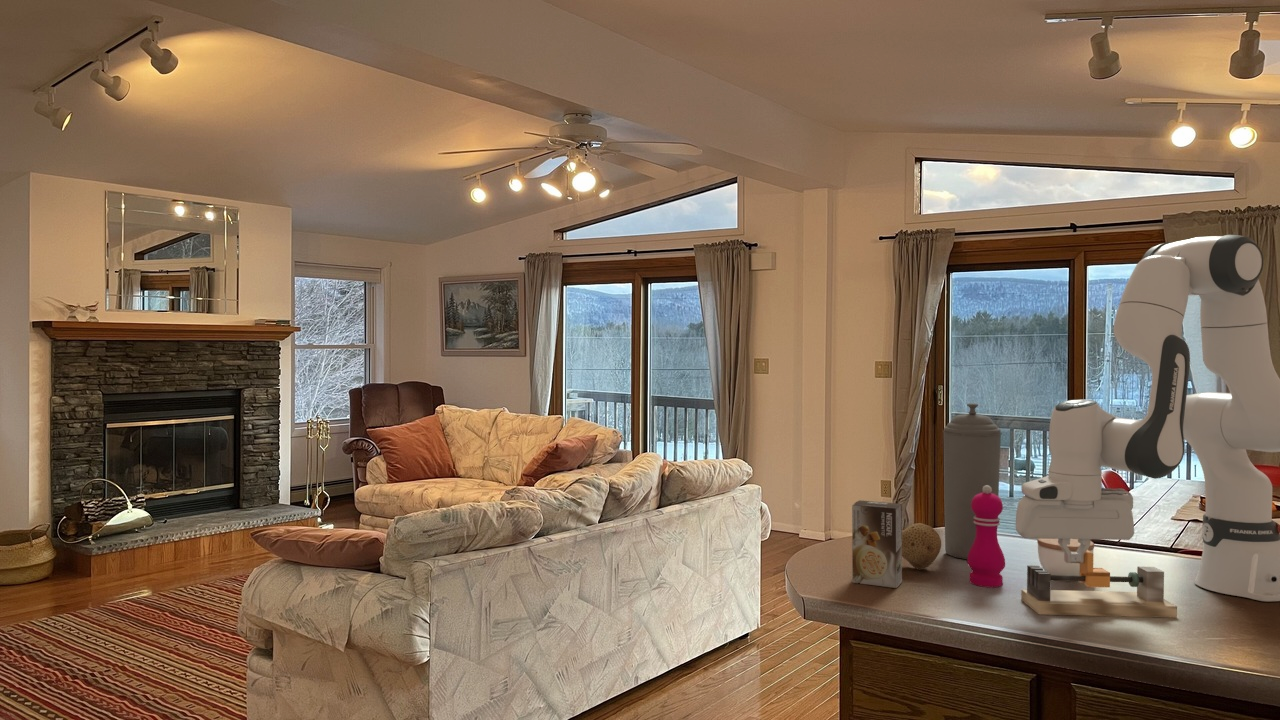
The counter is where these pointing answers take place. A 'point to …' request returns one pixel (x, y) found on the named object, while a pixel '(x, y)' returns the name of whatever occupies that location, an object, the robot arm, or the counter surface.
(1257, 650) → the counter surface
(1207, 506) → the robot arm
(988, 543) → the pepper mill
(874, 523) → the coffee box
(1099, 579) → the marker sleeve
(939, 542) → the natural sponge
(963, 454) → the canister
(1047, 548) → the lidded jar
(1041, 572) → the cord board
